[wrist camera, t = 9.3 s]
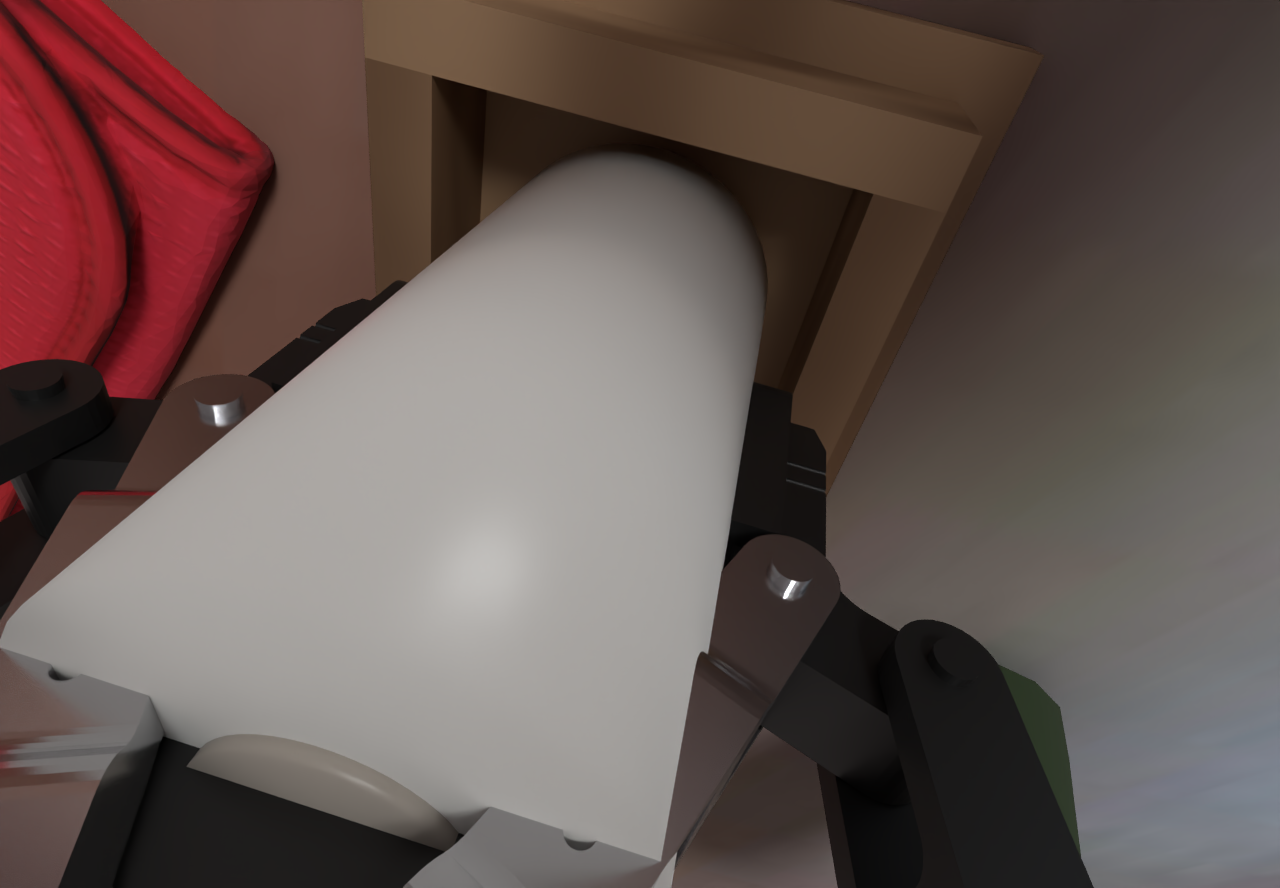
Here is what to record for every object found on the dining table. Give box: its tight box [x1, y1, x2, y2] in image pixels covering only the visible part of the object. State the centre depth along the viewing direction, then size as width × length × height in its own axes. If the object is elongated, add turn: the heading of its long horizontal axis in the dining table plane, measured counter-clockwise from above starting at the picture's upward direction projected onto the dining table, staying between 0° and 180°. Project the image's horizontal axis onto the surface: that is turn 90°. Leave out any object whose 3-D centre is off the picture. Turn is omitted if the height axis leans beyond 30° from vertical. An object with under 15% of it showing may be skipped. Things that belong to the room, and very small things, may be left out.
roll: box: [0, 143, 768, 888], centre depth 10 cm, size 6×6×11 cm
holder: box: [362, 0, 1044, 496], centre depth 15 cm, size 12×12×4 cm
